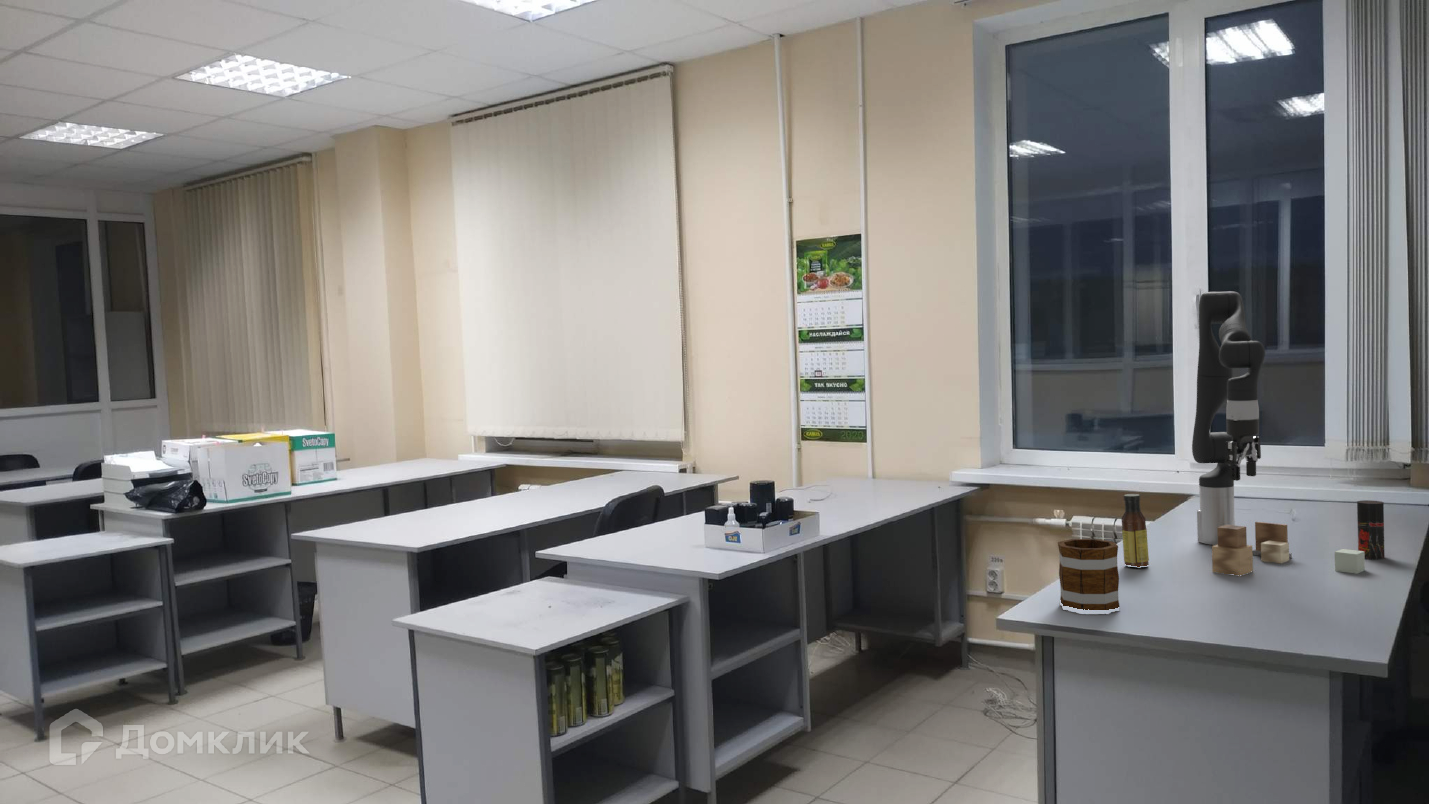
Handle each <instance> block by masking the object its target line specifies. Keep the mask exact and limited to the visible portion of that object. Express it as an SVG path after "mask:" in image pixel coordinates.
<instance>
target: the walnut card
mask: <svg viewBox="0 0 1429 804" xmlns="http://www.w3.org/2000/svg"><path fill="white" fill-rule="evenodd" d="M1254 529H1255V530H1254V531H1255V532H1254V534H1255V549H1252V553H1253V556H1259V557H1261V543H1263V542H1266V541H1269V540H1270V541H1278V542H1287V543H1289V542H1288V541H1289V537H1288V524H1285V523H1284V524H1282V523H1272V522H1264V521H1263V522H1262V521H1255V522H1254ZM1289 559H1292V553H1291V552H1289Z"/></svg>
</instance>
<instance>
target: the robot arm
mask: <svg viewBox="0 0 1429 804" xmlns="http://www.w3.org/2000/svg"><path fill="white" fill-rule="evenodd" d="M1212 324H1215V325H1216V324H1217V325H1218V324H1220V328H1219V329H1218V337H1219V341H1220V344H1221V345H1219V344H1218V342H1217V340H1216V338H1215V336H1214V333H1213V328H1212ZM1198 335H1199V336H1198V338H1199V340H1198V341H1199V342H1198V343H1199V344H1198V345H1199V346H1198V348H1199V349H1198V357H1197V359H1198V360H1197V361H1198V362H1197V371H1196V375H1197V376H1196V404H1195V408H1196V409H1195V417H1194V427H1193V433H1192V441H1191V443H1192V444H1191V446H1192V447H1191V453H1192V457H1193V459H1194V461H1195V462H1196V463H1198V464H1217V465H1216V466H1215V468H1214V469H1212V470H1211V471H1209V472H1206V473H1204V474H1202V475H1200V476H1199V478H1198V487H1199V491H1198V493H1199V510H1197V511H1196V523H1197V524H1196V526H1197V527H1196V530H1197V531H1196V532H1197V542H1198V543H1202V544H1205V545H1211V546H1215V545H1218V532H1217V527H1220V526H1224V525H1235V526H1236V518H1235V517H1236V516H1235V515H1236V514H1235V482H1236V481H1240V480H1241V462H1242V461H1243V460H1244V459H1245V461H1246V462H1245V465H1246V467H1245V470H1246V476H1247V477H1256V476H1257V462H1258V460H1260V459H1262V453H1261V452H1262V451H1261V450H1262V449H1261V436H1259V434H1260V408H1259V407H1260V406H1259V402H1258V398H1259V397H1258V391H1259V390H1258V384H1259V377H1260V372H1261V370H1262V366H1263V364H1264V361H1265V356H1266V348H1265V346H1264V345H1263V343H1262V342H1261V341H1258V340H1252V338H1251V335H1250V332H1249V330H1248V329H1247V322H1246V313H1245V307H1244V300H1243V298H1242V295H1241V294H1240V293H1239V292H1237V291H1231V290H1229V291H1206V292H1205V291H1204V292H1202V293H1201V295H1200V298H1199V302H1198ZM1247 368H1248V370H1247V372H1246V373H1245V374H1243V375H1240V376H1235V377H1233V373H1234V369H1247ZM1225 402H1226V408H1225V410H1226V411H1225V413H1226V431H1218V432H1216V431H1215V432H1214V431H1213V432H1211V427H1212V424H1213V420H1214V418H1215V416H1216V414H1217V413H1218V411H1219V410H1220V409H1221V407H1222V406H1223V404H1224V403H1225Z"/></svg>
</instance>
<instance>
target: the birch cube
mask: <svg viewBox="0 0 1429 804" xmlns="http://www.w3.org/2000/svg"><path fill="white" fill-rule="evenodd" d="M1289 543H1290V542H1288V543H1287V542H1278V541H1270V540H1269V541H1266V542H1263V543H1261V556H1260V557H1261V558H1260V559H1261V562H1264V563H1265V562H1267V563H1272V562H1276V564H1280V563H1281V564H1284V563H1287V562H1289V561H1290V558H1289V553H1290V545H1289ZM1283 562H1284V563H1283Z"/></svg>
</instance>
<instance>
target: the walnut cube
mask: <svg viewBox="0 0 1429 804" xmlns="http://www.w3.org/2000/svg"><path fill="white" fill-rule="evenodd" d="M1217 532H1218V546H1220V547H1228V548H1236V549H1238V548H1241V547H1244V546H1247V545H1248V544H1247V526H1245V525H1244V526H1243V525H1242V526H1241V525H1236V524H1235V525H1224V526H1220V527H1217Z"/></svg>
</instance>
